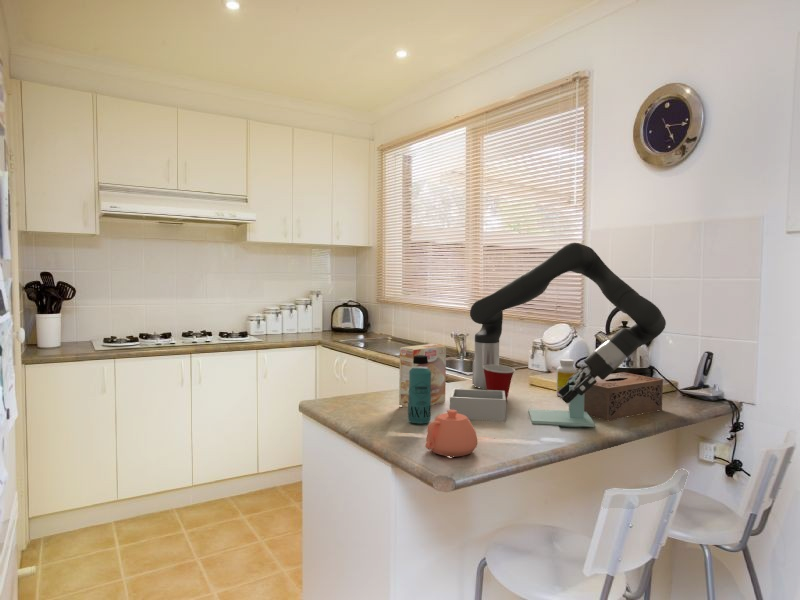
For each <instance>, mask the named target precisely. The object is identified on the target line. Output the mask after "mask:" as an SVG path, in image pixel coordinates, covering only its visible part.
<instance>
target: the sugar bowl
mask: <svg viewBox="0 0 800 600" xmlns="http://www.w3.org/2000/svg"><path fill="white" fill-rule="evenodd" d="M426 432H427V434H426V439H425V440H426V441H425V448H426V449H427V450H430V451H432V452H433V453H434V454H437V455H440V456H445V457H447V456H450V457H453V456H455V457H462V456H467V455H469V454H471V453H472V452H473V451H475V450H476V448H477V446H478V436H477V432H476V429H475V428H474V426H473V424H472V422H471V420H469V419H468V418H467V417H466V416H465V415H462V414H458V413H457V411H456V410H450V409H447V411H446V412H444V413H440V414H437V416H436V417H434V420H432V421H431V422H429V424H428V425H427V431H426Z"/></svg>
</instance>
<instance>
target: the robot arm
mask: <svg viewBox="0 0 800 600" xmlns="http://www.w3.org/2000/svg"><path fill="white" fill-rule="evenodd" d="M568 272H573V273H575V274H579V275H580V274H581V275H583V276H585V277H587V278H588V279H589V280H591V281H592V282H594V283H595V284H596V286H598V287H599V289H600V291H601V293H602V294H603V296H604V297H605V298H606V299H607V300H608V301H609V302H610V303H611V304H612V305H613V306H614V307H616V308H617V309H618V310H619V312H622V313H623V314H626V315H627V316H628V317H629V318H631V320H632V321H634V323H635V324H634V325H632V326H631V327H629V328H625V327H623V328H620V329H619V330H618V331H617V332H615V333H614V334H613V335H612V336H610V337H609V338H608V339H607V340H606V341H605V342H603V343H601V344H600V345H599V346H598V347H597V348H596V349H595V350H594V351H593V352H591V353H590V354H589V355H588V356H587V357H586V358H585V359H584V360H583V362H584V364H585V365H586V366H587V367H584V366H582V367H579V369H578V370H577V372H576V373H575V374H573V375H572V376H571V377H570V378H569V379H568V382H567V383H568V384H566V385H565V386H564V387H562V388H561V389H560V390H559V394H560V395H561V396H562V397H561V400H563V401H564V403H565V404H568V405H569V402H570V401H571V400H573V399H574V398H575V397H576V396H577V395H578V396H579V395H580V396H581V395H583V394H584V393H585V392H586V391H587V390H588V389H589V388H591V387H592V386H593V385H594V384H595V383H596V382H597V381H596V380H595V378H596V376H598V377H599V378H600V379H602V380H604V379H605V378H606V377H607V376H608V375H610V374H613V372H614V371H615V370H616V369H618V368H619V367H620V366H621V365H622V364H624V362H625V361H626V359H627V358H628V357H630V356H631V355H632V354H633V353H634V352H636V350H637V349H638V348H640V347H642V346H645V345H646V344H647V343H649V342H651V341H653V340H655V339H656V338H657V337H658V336H660V335H661V334H662V333H663V332H664V330H665V329H666V326H667V322H666V319H665V316H664V315H663V313H662V311H661V309H659V307H658V306H657V305H656V304H654V303H653V302H652V301H650V300H649V299H647V298H646V297H644V296H642V295H640V293H638V292H637V291H636V290H635V289H634V288H632V287H631V286H630V285H629V284H628V283H626V282H625V281H624V280H622V278H620V277H619V276H618V275H617V274H616V273H614V272H613V271H612V269H610V268H609V266H607V265H606V263H605V262H604V261H603V260H602V259H601V257H600V256H599V255H598V254H597V253H596V251H595V250H594V249H593V248H592V247H590V246H587V245H585V244H582V243H579V242H569V243H567V244H565V245H563V246H562V247H561V248H560V249H558V250H557V251H555V253H553V254H552V255H550V256H549V257H548V258H546V259H544V261H542V262H541V263H539V264H538V265H536V266H534V267H533V268H531V269H530V270H527V271H526V272H525V273H522V274H521V275H519V276H518V277H516V278H514V279H513V280H512V281H510V282H508V283H507V284H505V285H504V286H502V287H501V288H500V289H498V290H496V291H494V292H493V293H491V294H490V295H489V294H488V295H487V296H485V297H483V298H480V299H478V300H476V301H475V302H474V303H473V304H472V305H471V307H470V310H469V316H470V318H471V320H472V322H474V323H476V324H478V325H481V328H480V330H479V331H478V332H476V333H475V335H474V359H473V360H472V384H474V385H473V386H476V387H480V388H479V389H481V388H487V387H486V380H485V373H484V369H483V365H490V364H493V365H500V338H501V335H502V331H503V318H504V317H503V316H504V315H503V314H504V311H505V310H508V309H511V308H512V309H513V308H515V307H517V306H520V305H524V304H526V303H528V302H530V301H533V300H534V299H535V298H538V297H539V296H541V295H543V293H544V292H545V291H546V290H547V289H548V286H549V285H550V283H551V282H552V281H553V280H554V279H556V278H558V277H559V276H561V275H564V274H566V273H568ZM569 385H574V387H573V388H572V390H570V391H569ZM476 387H475V388H476Z"/></svg>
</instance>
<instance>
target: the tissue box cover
mask: <svg viewBox="0 0 800 600" xmlns="http://www.w3.org/2000/svg"><path fill="white" fill-rule="evenodd" d="M595 380H596V381H597V382H596V383H595V384H594V385H593V386H592V387H591V388H589V389H588V390H587V391H586V392H585V395H584V412H587V413H588V415H589V416H590V417H593V418H596V419H599V418H600V420H603V421H606V420H607V422H608V420H609V421H614V420H618V419H617V418H619V419H623V418H622V417H624V418H628V417H627V416H629V417H632V415H634V416H638V415H637V414H640V415H643V414H642V413H645V414H649V413H648V412H650V413H654V412H653V411H655V412H658V411H657V410H660V411H662V410H663V390H664V389H663V387H664V386H663V385H664V383H663V382H664V379H661V378H656V377H655V378H654V377H651V376H644V375H640V374H634V373H630V372H624V371H623V372H622V371H621V372H617V373H611V374H610V375H608V376H607V377H606V378H605V379H604V380H602V379H600V378H599V377H598V376H596V378H595ZM613 419H614V420H613Z"/></svg>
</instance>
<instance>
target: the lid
mask: <svg viewBox="0 0 800 600" xmlns="http://www.w3.org/2000/svg"><path fill="white" fill-rule="evenodd" d="M573 387H574V385H569V391H570V390H572V388H573ZM584 395H585V393H584V394H583V395H581V396H580V395H579V396H578V395H577V396H576V397H575V398H574V399H573V400H571V401H570V402H569V403H568V410H554V409H539V408H538V409H536V408H528V414H529V417H530V418H529V419H530V422H531V424H536V425H550V426H551V425H553V426H554V425H555V426H557V425H558V427H567V428H581V427H591V428H595V427H596V424H595V422H594V420H593V419H592V416H589V415H588V413H587V412H584Z"/></svg>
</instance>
